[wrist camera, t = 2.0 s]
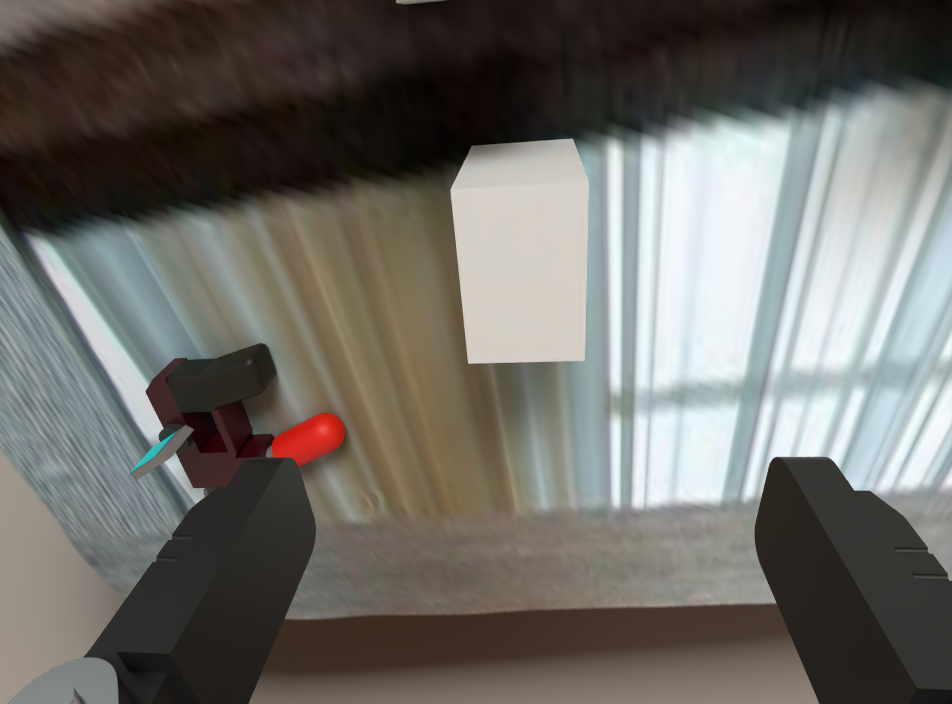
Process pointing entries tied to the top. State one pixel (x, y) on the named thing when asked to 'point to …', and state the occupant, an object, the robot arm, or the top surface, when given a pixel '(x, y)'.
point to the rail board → (415, 1)
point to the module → (522, 251)
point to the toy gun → (225, 419)
